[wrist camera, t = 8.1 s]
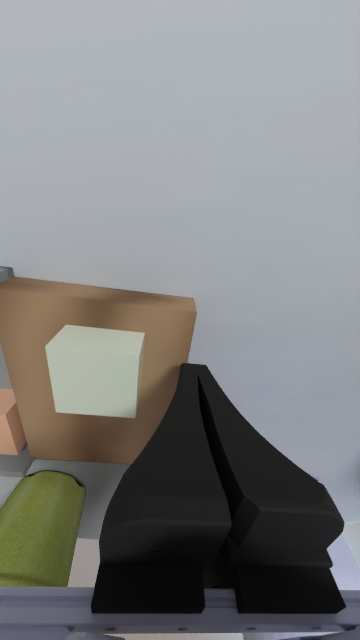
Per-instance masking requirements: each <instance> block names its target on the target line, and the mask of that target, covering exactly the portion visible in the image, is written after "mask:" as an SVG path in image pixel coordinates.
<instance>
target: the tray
mask: <svg viewBox="0 0 360 640" xmlns="http://www.w3.org/2000/svg"><path fill="white" fill-rule="evenodd" d="M12 277H14V275H13V270H12V268H10V267H2V266H0V282H2V281H4V280H7V279H10V278H12ZM0 388H1V389H12V385H11V381H10V377H9V374H8V370H7V366H6V363H5V359H4V355H3V352H2V348H1V344H0ZM33 461H34V459H32V458H31V455H30V452H29V448H28V444H27V442H26V444H25V445H24V447H23V448H22V450H21V451H20V453H19V454H18V455H6V454H0V476H5V477H25V475H26V473H27V471H28V470H29V468H30V466H31V464H32V463H33Z"/></svg>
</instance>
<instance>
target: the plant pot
mask: <svg viewBox="0 0 360 640" xmlns="http://www.w3.org/2000/svg"><path fill="white" fill-rule="evenodd" d="M84 498H85V488H84V486H79V485H78V484H77V482H76V481H75V479H74V478H73V477H71V476H70V475H67V474H63V473H59V472H53V471H41V472H38V473H36V474H35V475H33V476H30V477H28V476H26V477H24V478H23V479H22V480H21V481H20V483H19V484H18V486H17V487H16V488H15V490H14V491H13V492H12V494H11V495H10V497H9V498H8V499H7V501H6V502H5V504H4V505H3V506H2V508H1V509H0V586H11V587H67V585H68V581H69V576H70V570H71V565H72V560H73V555H74V549H75V544H76V539H77V534H78V529H79V524H80V519H81V514H82V509H83V504H84Z"/></svg>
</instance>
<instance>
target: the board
mask: <svg viewBox="0 0 360 640" xmlns="http://www.w3.org/2000/svg"><path fill="white" fill-rule="evenodd" d="M196 313H197V312H196V307H195V303H194V298H186V297H178V296H170V295H161V294H153V293H145V292H136V291H128V290H120V289H111V288H103V287H95V286H87V285H78V284H70V283H62V282H53V281H45V280H37V279H28V278H20V277H12V278H10V279H7V280H4V281H2V282H0V344H1V348H2V352H3V355H4V359H5V363H6V366H7V370H8V374H9V377H10V381H11V385H12V389H13V392H14V396H15V400H16V403H17V407H18V411H19V415H20V418H21V422H22V426H23V429H24V433H25V437H26V440H27V444H28V448H29V452H30V455H31V458H32V459H49V460H67V461H85V462H103V463H120V464H132V463H133V462H134V460H135V459H136V458H137V457H138V455H139V454H140V453H141V451H142V450H143V448H144V447H145V446H146V444H147V443H148V441H149V440H150V438H151V437H152V435H153V434H154V432H155V431H156V429H157V427H158V426H159V424H160V422H161V420H162V419H163V417H164V415H165V413H166V411H167V409H168V407H169V405H170V403H171V400H172V398H173V396H174V393H175V391H176V388H177V383H178V378H179V372H180V366H181V364H182V363H187V362H188V356H189V351H190V346H191V340H192V335H193V330H194V324H195V319H196ZM65 325H74V326H84V327H93V328H103V329H112V330H122V331H131V332H141V333H145V338H144V352H143V365H142V379H141V391H140V396H139V402H138V407H137V412H136V417H135V418H126V417H113V416H99V415H85V414H72V413H58V412H56V410H55V404H54V398H53V392H52V386H51V380H50V374H49V368H48V361H47V355H46V349H45V346H46V345H47V344H48V343H49V342H50V341H51V340H52V339H53V338H54V337H55V336H56V334H57V333H58V332H59V331H60V330H61V329H62V328H63V327H64V326H65Z"/></svg>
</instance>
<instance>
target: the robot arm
mask: <svg viewBox="0 0 360 640" xmlns="http://www.w3.org/2000/svg"><path fill="white" fill-rule="evenodd" d="M343 528H344V521H343V519H342V517H341V515H340V513H339V511H338V509H337V507H336V505H335V504H334V502H333V500H332V498H331V496H330V495H329V493H328V491H327V490H326V488H325V487H324V485H323V484H321V482H320V481H318V480H316V479H314V478H313V477H312V476H310V475H309V474H308V473H306V472H305V471H303V470H302V469H301V468H299V467H298V466H297V465H295V464H294V463H293V462H292V461H290V460H289V459H288V458H287V457H285V456H284V455H283V454H282V453H281V452H279V451H278V450H277V449H276V448H275V447H274V446H272V445H271V444H270V443H269V442H268V441H267V440H266V439H265V438H264V437H263V436H262V435H260V434H259V433H258V432H257V431H256V430H255V429H254V428H253V427H252V426H251V425H250V424H249V422H248V421H247V420H246V419H245V418H244V417H243V416H242V415H241V414H240V413H239V411H238V410H237V409H236V408H235V406H234V405H233V404H232V403H231V401H230V400H229V399H228V397H227V396H226V395H225V393H224V392H223V390H222V389H221V388H220V386H219V385H218V383H217V382H216V380H215V379H214V377H213V375H212V374H211V372H210V371H209V369H208V367H207V366H206V365H200V364H189V363H182V364H181V366H180V372H179V378H178V383H177V388H176V391H175V393H174V396H173V398H172V400H171V403H170V405H169V407H168V409H167V411H166V413H165V415H164V417H163V419H162V420H161V422H160V424H159V426H158V427H157V429H156V431H155V432H154V434H153V435H152V437H151V438H150V440H149V441H148V443H147V444H146V446H145V447H144V448H143V450H142V451H141V453H140V454H139V455H138V457H137V458H136V459H135V460H134V462H133V463H132V464H131V465H130V467H129V468H128V469H127V471H126V472H125V473H124V475H123V477H122V479H121V481H120V483H119V485H118V487H117V489H116V491H115V493H114V495H113V497H112V499H111V501H110V503H109V506H108V508H107V511H106V514H105V517H104V521H103V525H102V530H101V535H100V540H99V549H100V565H99V569H98V574H97V579H96V583H95V587H11V586H0V640H125V639H124V638H121V637H114V636H109V635H103V634H119V633H120V634H123V633H124V634H126V633H128V634H129V633H243V639H244V640H360V568H359V566H358V564H357V562H356V560H355V558H354V556H353V554H352V553H351V551H350V549H349V547H348V545H347V543H346V541H345V539H344V537H343V536H342V532H343Z"/></svg>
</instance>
